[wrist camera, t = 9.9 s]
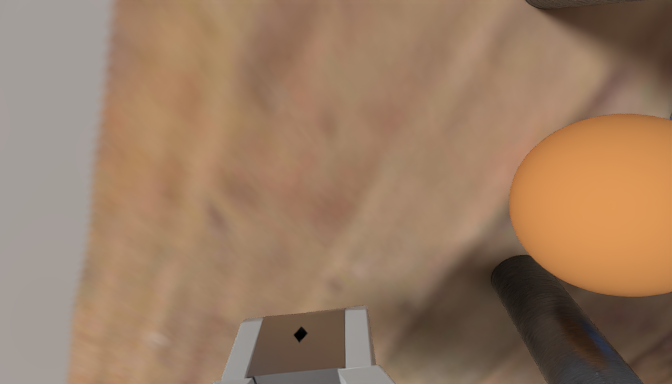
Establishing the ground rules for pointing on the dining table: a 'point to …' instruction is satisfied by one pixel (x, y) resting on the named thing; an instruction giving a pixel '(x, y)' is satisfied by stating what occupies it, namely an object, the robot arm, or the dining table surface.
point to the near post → (570, 3)
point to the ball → (600, 204)
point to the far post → (556, 327)
